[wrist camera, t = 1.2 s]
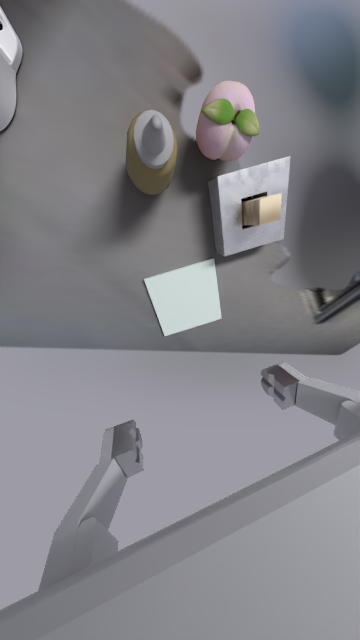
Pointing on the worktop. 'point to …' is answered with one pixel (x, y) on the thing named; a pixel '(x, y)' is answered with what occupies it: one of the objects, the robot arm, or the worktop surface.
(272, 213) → the birch peg
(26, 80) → the worktop surface
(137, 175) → the squeeze bottle
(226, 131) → the decorative fruit
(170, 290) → the sage pad
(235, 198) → the aluminium socket block
